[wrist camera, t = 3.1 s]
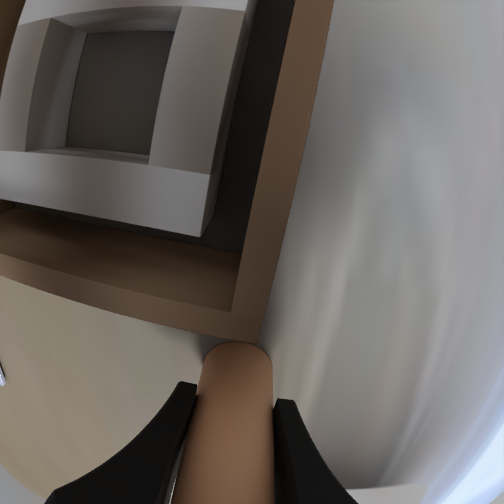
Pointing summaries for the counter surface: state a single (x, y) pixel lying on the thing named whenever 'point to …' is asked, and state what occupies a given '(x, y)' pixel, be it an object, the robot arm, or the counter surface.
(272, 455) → the peg
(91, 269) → the peg box
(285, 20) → the counter surface
